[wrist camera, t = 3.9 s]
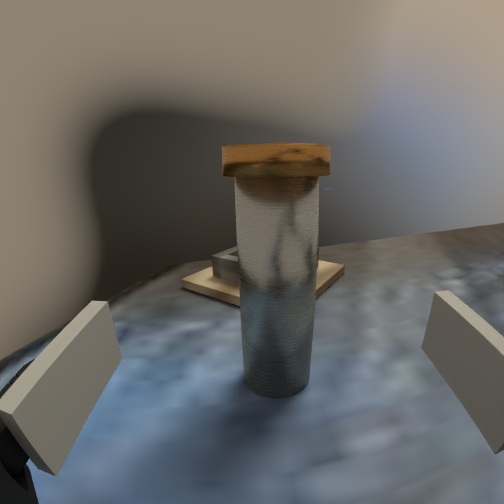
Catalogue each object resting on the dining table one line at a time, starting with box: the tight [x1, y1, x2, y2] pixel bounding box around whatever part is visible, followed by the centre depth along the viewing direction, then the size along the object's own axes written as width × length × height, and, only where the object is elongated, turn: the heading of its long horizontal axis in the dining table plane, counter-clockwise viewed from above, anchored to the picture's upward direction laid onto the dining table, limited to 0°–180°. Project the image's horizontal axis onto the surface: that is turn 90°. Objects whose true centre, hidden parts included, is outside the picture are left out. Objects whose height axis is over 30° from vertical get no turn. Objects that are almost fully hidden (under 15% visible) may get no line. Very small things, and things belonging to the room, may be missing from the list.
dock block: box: [182, 246, 345, 306], centre depth 35 cm, size 14×14×4 cm
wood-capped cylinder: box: [222, 143, 330, 398], centre depth 17 cm, size 6×6×14 cm
